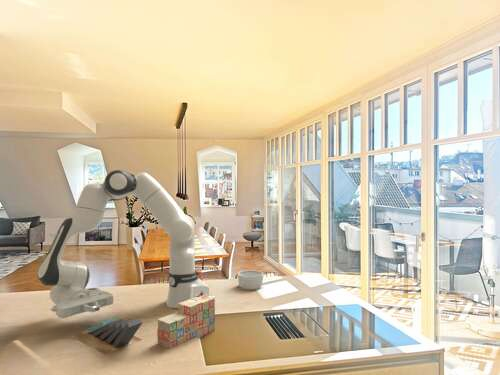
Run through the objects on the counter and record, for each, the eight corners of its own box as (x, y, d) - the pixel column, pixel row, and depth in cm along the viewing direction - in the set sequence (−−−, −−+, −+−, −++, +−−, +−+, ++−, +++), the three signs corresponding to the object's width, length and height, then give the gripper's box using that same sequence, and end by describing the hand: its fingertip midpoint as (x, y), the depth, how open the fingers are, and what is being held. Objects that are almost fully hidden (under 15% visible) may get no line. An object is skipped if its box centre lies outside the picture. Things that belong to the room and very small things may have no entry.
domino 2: (106, 328, 139) (122, 318, 132) (107, 332, 138) (123, 323, 132) (92, 332, 135) (108, 322, 128) (94, 337, 135) (110, 327, 128)
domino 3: (112, 331, 136) (128, 319, 130) (114, 335, 136) (130, 323, 129) (99, 336, 132) (115, 323, 126) (100, 340, 132) (116, 328, 125)
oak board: (107, 326, 147) (107, 323, 147) (142, 342, 133) (142, 339, 133) (70, 338, 136) (70, 335, 136) (104, 357, 122) (104, 354, 122)
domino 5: (126, 338, 131) (140, 318, 125) (128, 342, 130) (142, 322, 125) (113, 343, 127) (126, 322, 121) (115, 348, 126) (129, 327, 121)
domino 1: (99, 325, 142) (115, 317, 135) (100, 329, 141) (117, 321, 134) (86, 329, 138) (102, 321, 131) (87, 333, 137) (103, 325, 130)
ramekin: (254, 292, 189) (254, 278, 189) (232, 287, 196) (232, 274, 196) (268, 285, 200) (268, 272, 200) (246, 281, 207) (246, 268, 207)
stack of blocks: (169, 352, 126) (169, 314, 125) (157, 346, 130) (156, 310, 129) (215, 331, 143) (214, 297, 142) (203, 326, 146) (202, 294, 146)
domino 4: (119, 335, 133) (134, 319, 127) (121, 339, 133) (136, 323, 127) (106, 339, 129) (121, 323, 123) (107, 344, 129) (123, 328, 123)
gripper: (48, 299, 139) (66, 308, 130) (101, 286, 154) (121, 293, 146) (48, 317, 139) (67, 326, 130) (102, 302, 155) (121, 310, 146)
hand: (96, 309), depth 138 cm, fingers closed
